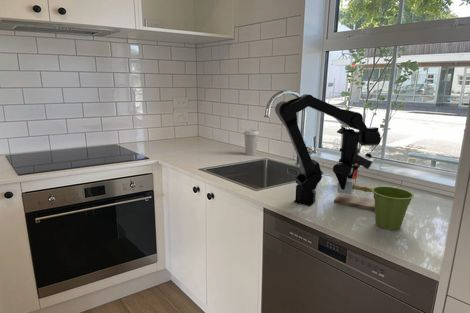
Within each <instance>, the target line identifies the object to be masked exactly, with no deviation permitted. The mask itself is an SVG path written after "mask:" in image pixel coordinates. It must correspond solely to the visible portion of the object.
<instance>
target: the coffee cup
mask: <svg viewBox="0 0 470 313" xmlns="http://www.w3.org/2000/svg"><path fill="white" fill-rule="evenodd" d="M259 134H260V133H259V130H258V129H245V130H244V132H243V136H244V147H245V148H244V149H245V155H247V156H256V155H257V149H258V142H259V141H258V140H259Z"/></svg>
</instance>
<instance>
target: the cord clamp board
mask: <svg viewBox="0 0 470 313" xmlns="http://www.w3.org/2000/svg"><path fill="white" fill-rule="evenodd" d="M379 186H380V185H378V186H377V187H379ZM372 188H373V187H369V186H367V185H365V186H363V185H357V184H355V185H353V187H352V189H354V191H363V192H365V193H367V192H368V193H373V192H372ZM333 203H334V204H337V203H338V205H343V206H348V207H354V208H359V209H364V210H369V211H373V212H375V199H374V198H368V197H362V196H357V195H353V194H351V195H349V194H344V193H339V194H338V195H337V196H336V197H335V198H334V199H333Z"/></svg>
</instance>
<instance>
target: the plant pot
mask: <svg viewBox="0 0 470 313" xmlns="http://www.w3.org/2000/svg"><path fill="white" fill-rule="evenodd" d="M378 186H379V187H378ZM378 186H374V187H371V188H372V192H371V193H373V199H375V211H374V213H375V215H374V216H375V225H377V227H379V228H381V229H388V230H389V231H397V230H400V229H401V227H402V225H403V221H404V218H405V216H406V212H407V210H408V207H409V205H410V204H411V201H412V199H413V198H415V194H414V193H412V192H411V191H410V190H407V189H403V188H400V187H395V186H382V185H378Z"/></svg>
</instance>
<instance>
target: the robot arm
mask: <svg viewBox="0 0 470 313" xmlns="http://www.w3.org/2000/svg"><path fill="white" fill-rule="evenodd" d="M306 108H311V109H313V110H315V111H317V112H320V113H323V114H325V115H327V116H330V117H332V118H334V119H335V120H336V121H337V122H338V123H340V124H341V125H343V126H341V128H340V129H338V130H337V131H336V133H337V134H340V135H341V136H342V137H341V147H340V148H339V152H340V158H339V159H338V162H337V163H336V164H334V165H333V167H332V172H333V173H334V175H335V177H336V179H337V182H339V184H340V187H341V189H342V190H344V189H345V186H346V183H347V179H348V178H350V179H352V178H353V175H354V173H355V170H356V169H358V170H359V168H360V167H361V166H362V167H363V168H364V169H367V170H368V169H370V168H371V167H372V164H373V162H374V160H375V159H374V157H373V154H372V153H371V152H367V153H366V154H364V153H361V152H360V148H359V144H360V146H361V147H367V146H368V147H369V146H371V147H372V146H373V147H374V146H379V145H380V143H381V140H382V138H381V133H380V132H379V130H380V129H379V127H376V126H375V127H374V126H372V127H367V125H366V123H365V122H364V118H363V115H362V114H361V112H357V111H352V110H347V109H344V108H340V107H338V106H336V105H333V104H331V103H330V102H326V101H324V100H321V99H319V98H317V97H315V96H313V95H312V94H307V93H305V94H303V95H301V96H299V97H295V98H293V99H290V100H287V101H286V100H285V101H284V100H283V101H282V100H281V101H279V102H278V103H277V104H276V105H275V107H274V112H275V114H276V115H277V116H276V117H278V119H279V120H280V121H281V123H282V124H283V126H284V127H285V129H286V132H287V133H288V134H287V135H288V136H289V139H290V141H291V143H292V146H293V148H294V151H295V153H296V156H297V158H298V160H299V171H300V173H299V174H297V175H296V177H295V178H294V181H295V184H296V186H295V196H294V197H295V199H294V200H293V203H294V204H298V205H304V206H308V207H310V206H312V205H313V204H314V203H315V202H316V198H317V197H316V196H317V195H316V194H317V191H316V189H317V186H318V184H319V183H320V182H321V181H322V178H323V176H322V174H323V171H322V169H321V167H320V163H319V162H318V161H316V160H315V159H312V157H311V155H310V152H309V150H308V147H307V145H306V143H305V140H304V138H303V135H302V132H301V130H300V126H298V115H297V114H298V113H299V112H301V111H302V110H304V109H306ZM346 127H348V128H346ZM355 130H356V131H355ZM357 164H358V165H357Z"/></svg>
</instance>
